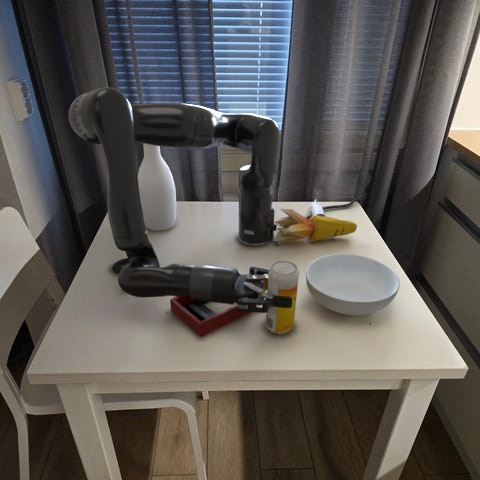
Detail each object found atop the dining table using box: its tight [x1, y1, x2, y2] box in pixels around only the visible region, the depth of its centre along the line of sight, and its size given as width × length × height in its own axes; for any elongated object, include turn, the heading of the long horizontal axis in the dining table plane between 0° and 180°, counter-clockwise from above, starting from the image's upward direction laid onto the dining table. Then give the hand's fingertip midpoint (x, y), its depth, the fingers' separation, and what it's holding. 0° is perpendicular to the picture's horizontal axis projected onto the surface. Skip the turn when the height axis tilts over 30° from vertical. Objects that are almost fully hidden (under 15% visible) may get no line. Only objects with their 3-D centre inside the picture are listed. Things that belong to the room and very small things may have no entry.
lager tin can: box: [264, 259, 300, 335], centre depth 93 cm, size 6×6×15 cm
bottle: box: [137, 143, 177, 232], centre depth 129 cm, size 11×11×25 cm
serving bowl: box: [305, 253, 401, 316], centre depth 103 cm, size 21×21×7 cm
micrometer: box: [111, 257, 129, 292], centre depth 113 cm, size 15×7×2 cm, turn 177°
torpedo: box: [308, 192, 326, 217], centre depth 139 cm, size 18×5×7 cm, turn 0°
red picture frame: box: [169, 296, 258, 338], centre depth 101 cm, size 16×12×4 cm
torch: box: [273, 208, 358, 245], centre depth 128 cm, size 8×8×25 cm
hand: (293, 293), depth 92 cm, fingers closed on lager tin can, 6 cm apart
